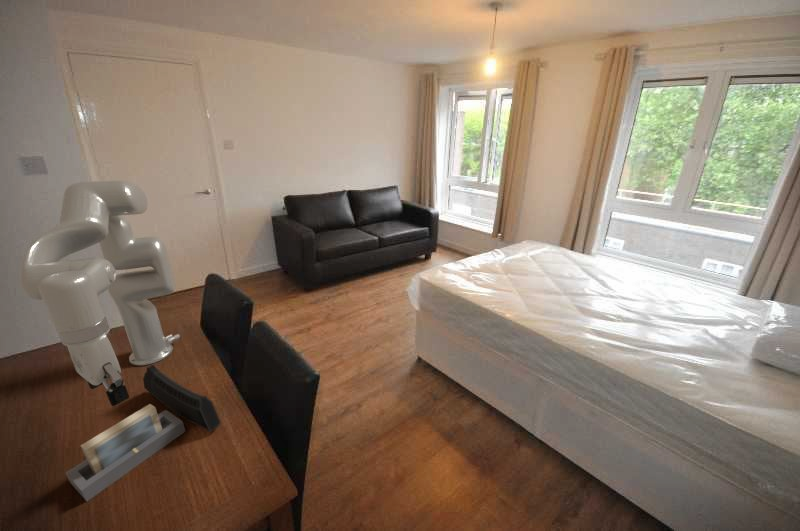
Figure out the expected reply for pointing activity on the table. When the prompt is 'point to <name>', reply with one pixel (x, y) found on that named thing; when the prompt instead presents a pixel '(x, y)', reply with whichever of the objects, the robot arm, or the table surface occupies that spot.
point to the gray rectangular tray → (124, 459)
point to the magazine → (181, 399)
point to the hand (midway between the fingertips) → (109, 393)
